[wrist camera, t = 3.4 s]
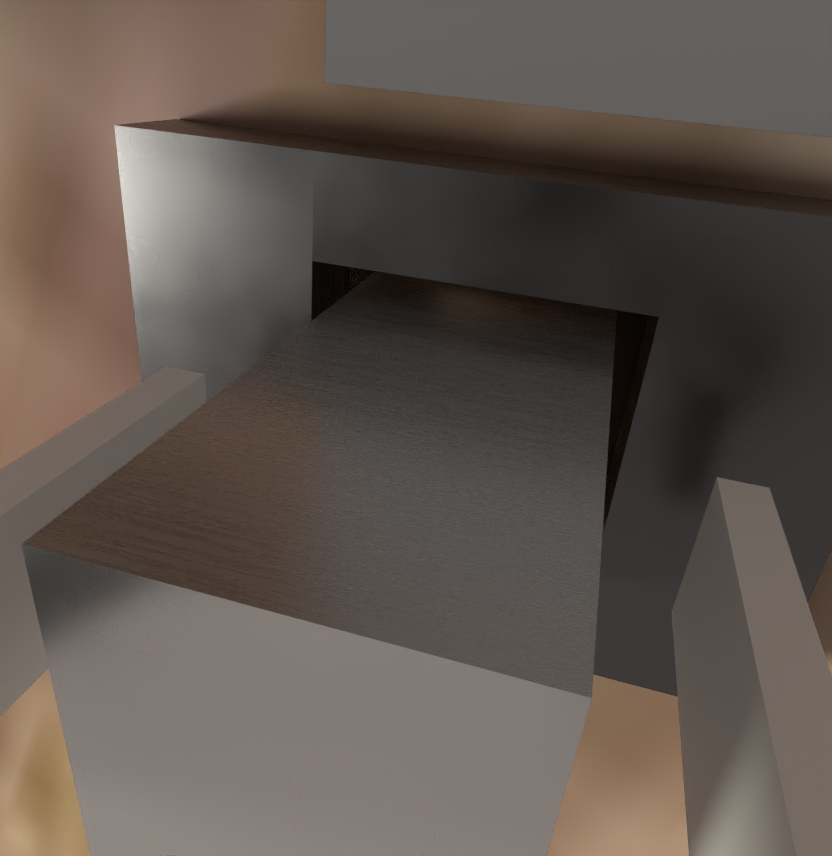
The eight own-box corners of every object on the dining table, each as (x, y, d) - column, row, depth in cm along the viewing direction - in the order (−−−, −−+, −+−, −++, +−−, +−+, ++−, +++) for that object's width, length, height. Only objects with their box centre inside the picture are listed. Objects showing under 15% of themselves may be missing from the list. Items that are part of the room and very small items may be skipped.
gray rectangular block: (376, 271, 15) (21, 544, 6) (617, 309, 14) (591, 697, 5) (364, 472, 17) (95, 873, 9) (569, 518, 16) (498, 1023, 8)
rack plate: (175, 119, 15) (114, 125, 13) (922, 211, 12) (972, 235, 10) (203, 517, 19) (160, 560, 17) (742, 649, 16) (755, 717, 15)
